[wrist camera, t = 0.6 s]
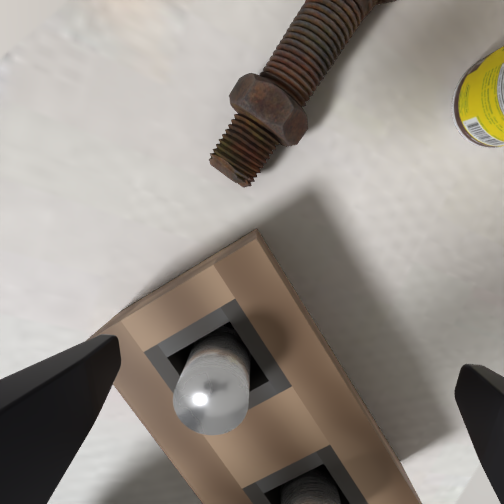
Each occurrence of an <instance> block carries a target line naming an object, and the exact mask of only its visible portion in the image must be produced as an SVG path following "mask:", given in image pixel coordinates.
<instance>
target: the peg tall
mask: <svg viewBox="0 0 504 504" xmlns="http://www.w3.org/2000/svg"><path fill="white" fill-rule="evenodd" d="M280 498H281V504H341V501H340V498H339V494H338V490H337V486H336V483H335V482H334V480H333V479H332V477H331V476H330V475H328V474H327V473H325V472H324V471H322V470H319V469H315V468H314V469H312V470H310V471H308V472H306V473H304V474H302V475H300V476H298V477H296V478H294V479H292V480H290V481H288V482H286V483H284V484H282V485H281V489H280Z"/></svg>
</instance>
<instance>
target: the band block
mask: <svg viewBox="0 0 504 504" xmlns="http://www.w3.org/2000/svg"><path fill="white" fill-rule="evenodd" d="M229 321H230V323H231V324H232V326H233V327H234V329H235V330H236V332H237V333H238V335H239V336H240V338H241V339H242V341H243V342H244V344H245V345H246V347H247V348H248V350H249V351H250V353H251V365H250V385H249V404H248V411H247V414H246V416H245V418H244V419H243V421H242V422H241V423H240V424H239V425H238V426H237V427H236V428H235V429H233V430H231V431H229V432H227V433H224V434H220V435H204V434H200V433H197V432H195V431H193V430H191V429H189V428H188V427H187V426H185V425H184V424H183V423H182V422H181V421H180V419H179V418H178V416H177V414H176V412H175V410H174V406H173V394H174V390H175V388H176V385H177V383H178V381H179V378H180V376H181V374H182V371H183V369H184V367H185V364H186V362H187V360H188V357H189V355H190V353H191V350H192V348H193V346H194V343H195V341H196V340H198V339H200V338H202V337H203V336H205V335H207V334H209V333H210V332H212V331H214V330H216V329H217V328H219V327H221V326H222V325H224V324H226V323H228V322H229ZM101 334H109V335H116V336H117V337H118V340H119V346H120V353H121V367H120V370H119V372H118V374H117V376H116V378H115V381H114V383H113V385H114V386H115V388H116V389H117V390H118V392H119V393H120V394H121V396H122V397H123V398H124V400H125V401H126V402H127V404H128V405H129V406H130V408H131V409H132V410H133V412H134V413H135V414H136V416H137V417H138V418H139V419H140V421H141V422H142V423H143V425H144V426H145V427H146V429H147V430H148V431H149V433H150V434H151V435H152V437H153V438H154V439H155V441H156V442H157V443H158V445H159V446H160V447H161V449H162V450H163V451H164V453H165V454H166V455H167V457H168V458H169V459H170V461H171V462H172V463H173V465H174V466H175V467H176V469H177V470H178V471H179V473H180V474H181V475H182V477H183V478H184V479H185V481H186V482H187V483H188V485H189V486H190V487H191V489H192V490H193V491H194V493H195V494H196V495H197V497H198V498H199V499H200V500H201V502H202V503H203V504H281V498H280V489H281V485H282V484H284V483H286V482H288V481H290V480H292V479H294V478H296V477H298V476H300V475H302V474H304V473H306V472H308V471H310V470H312V469H314V468H315V469H319V470H322V471H324V472H325V473H327V474H328V475H330V476H331V477H332V479H333V480H334V482H335V483H336V486H337V490H338V494H339V498H340V501H341V504H422V503H421V501H420V499H419V497H418V495H417V493H416V491H415V489H414V487H413V486H412V484H411V482H410V480H409V478H408V476H407V474H406V472H405V470H404V468H403V466H402V464H401V463H400V461H399V459H398V458H397V456H396V454H395V453H394V451H393V449H392V448H391V446H390V445H389V443H388V441H387V440H386V438H385V436H384V435H383V433H382V432H381V430H380V428H379V427H378V425H377V423H376V422H375V420H374V419H373V417H372V415H371V414H370V412H369V410H368V409H367V407H366V405H365V404H364V402H363V401H362V399H361V397H360V396H359V394H358V392H357V391H356V389H355V388H354V386H353V384H352V383H351V381H350V379H349V378H348V376H347V375H346V373H345V371H344V370H343V368H342V366H341V365H340V363H339V362H338V360H337V358H336V357H335V355H334V353H333V352H332V350H331V348H330V347H329V345H328V344H327V342H326V340H325V339H324V337H323V335H322V334H321V332H320V331H319V329H318V327H317V326H316V324H315V322H314V321H313V319H312V318H311V316H310V314H309V313H308V311H307V309H306V308H305V306H304V304H303V303H302V301H301V300H300V298H299V296H298V295H297V293H296V291H295V290H294V288H293V287H292V285H291V283H290V282H289V280H288V278H287V277H286V275H285V274H284V272H283V270H282V269H281V267H280V265H279V264H278V262H277V260H276V259H275V257H274V256H273V254H272V252H271V251H270V249H269V247H268V246H267V244H266V243H265V241H264V239H263V238H262V236H261V234H260V233H259V231H258V230H257V229H255V230H253V231H252V232H250V233H249V234H247V235H245V236H244V237H242V238H240V239H239V240H237V241H235V242H234V243H232V244H231V245H229V246H227V247H226V248H224V249H222V250H221V251H219V252H217V253H216V254H214V255H212V256H211V257H209V258H208V259H206V260H204V261H203V262H201V263H199V264H198V265H196V266H194V267H193V268H191V269H190V270H188V271H186V272H185V273H183V274H181V275H180V276H178V277H176V278H175V279H173V280H171V281H170V282H168V283H167V284H165V285H163V286H162V287H160V288H158V289H157V290H155V291H153V292H152V293H150V294H148V295H147V296H145V297H144V298H142V299H140V300H139V301H137V302H135V303H134V304H132V305H130V306H129V307H127V308H126V309H124V310H122V311H121V312H119V313H118V314H117V315H115V316H114V317H113V318H112V319H111V320H110V321H108V322H107V323H106V324H105V325H104V326H103V327H101V328H100V329H99V330H98V331H97V332H96V333H94V334H93V335H92V336H91V337H90V338H89V339H92V338H94V337H96V336H98V335H101ZM89 339H87V340H89ZM87 340H86V341H87Z"/></svg>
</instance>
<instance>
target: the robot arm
mask: <svg viewBox="0 0 504 504" xmlns="http://www.w3.org/2000/svg"><path fill="white" fill-rule="evenodd" d="M120 367H121V353H120V346H119V340H118V337H117V336H116V335H109V334H101V335H98V336H96V337H94V338H92V339H89V340H87V341H85V342H83V343H81V344H78V345H76V346H74V347H72V348H69V349H67V350H65V351H63V352H61V353H58V354H56V355H54V356H52V357H49V358H47V359H45V360H43V361H41V362H38V363H36V364H34V365H32V366H29V367H27V368H25V369H23V370H21V371H18V372H16V373H14V374H12V375H9V376H7V377H5V378H3V379H1V380H0V504H47V502H48V501H49V499H50V497H51V496H52V494H53V492H54V491H55V489H56V487H57V485H58V484H59V482H60V480H61V479H62V477H63V475H64V474H65V472H66V470H67V469H68V467H69V465H70V464H71V462H72V460H73V458H74V457H75V455H76V453H77V452H78V450H79V448H80V447H81V445H82V443H83V442H84V440H85V438H86V436H87V435H88V433H89V431H90V430H91V428H92V426H93V424H94V423H95V421H96V419H97V417H98V415H99V413H100V411H101V408H102V406H103V404H104V402H105V400H106V398H107V396H108V393H109V391H110V389H111V387H112V385H113V383H114V381H115V378H116V376H117V374H118V372H119V370H120ZM455 400H456V402H457V405H458V408H459V410H460V413H461V415H462V418H463V420H464V423H465V425H466V428H467V430H468V433H469V436H470V438H471V441H472V443H473V446H474V448H475V451H476V453H477V456H478V458H479V460H480V463H481V465H482V467H483V469H484V471H485V473H486V475H487V477H488V479H489V481H490V483H491V485H492V487H493V489H494V491H495V493H496V495H497V497H498V499H499V501H500V503H501V504H504V377H502V376H501V375H499V374H497V373H495V372H494V371H492V370H490V369H488V368H486V367H485V366H482V365H473V364H465V365H463V366H462V367H461V370H460V373H459V377H458V380H457V384H456V387H455Z"/></svg>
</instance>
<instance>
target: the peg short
mask: <svg viewBox="0 0 504 504" xmlns="http://www.w3.org/2000/svg"><path fill="white" fill-rule="evenodd" d="M250 365H251V353H250V351H249V350H248V348H247V347H246V345H245V344H244V342H243V341H242V339H241V338H240V336H239V335H238V333H237V332H236V330H234V329H231V328H228V327H219V328H217V329H216V330H214V331H212V332H210V333H209V334H207V335H205V336H203V337H202V338H200V339H198V340H196V341H195V343H194V346H193V348H192V350H191V353H190V355H189V357H188V360H187V362H186V364H185V367H184V369H183V371H182V374H181V376H180V378H179V381H178V383H177V385H176V388H175V390H174V394H173V406H174V410H175V412H176V414H177V416H178V418H179V419H180V421H181V422H182V423H183V424H184V425H185V426H187V427H188V428H189V429H191V430H193V431H195V432H197V433H200V434H204V435H220V434H224V433H227V432H229V431H231V430H233V429H235V428H236V427H237V426H238V425H239V424H240V423H241V422H242V421H243V419H244V418H245V416H246V414H247V411H248V404H249V385H250Z"/></svg>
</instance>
